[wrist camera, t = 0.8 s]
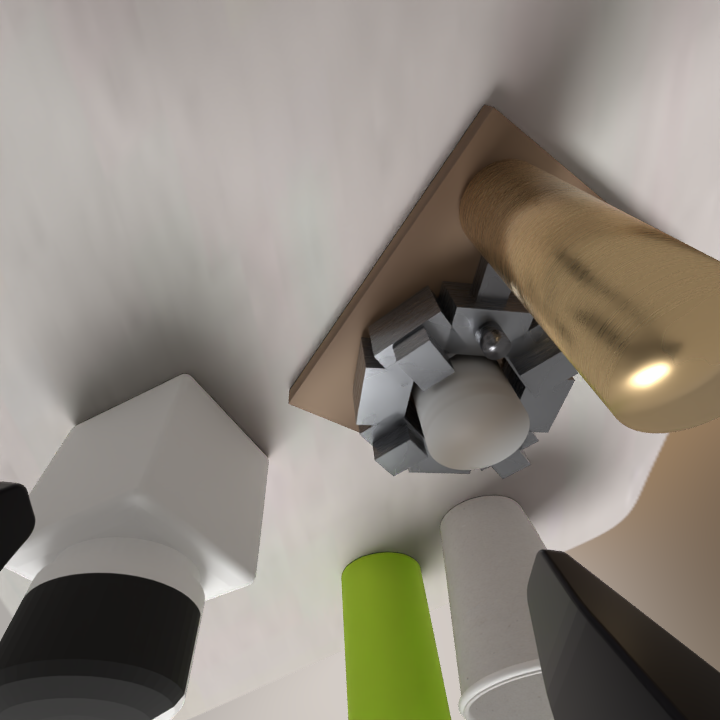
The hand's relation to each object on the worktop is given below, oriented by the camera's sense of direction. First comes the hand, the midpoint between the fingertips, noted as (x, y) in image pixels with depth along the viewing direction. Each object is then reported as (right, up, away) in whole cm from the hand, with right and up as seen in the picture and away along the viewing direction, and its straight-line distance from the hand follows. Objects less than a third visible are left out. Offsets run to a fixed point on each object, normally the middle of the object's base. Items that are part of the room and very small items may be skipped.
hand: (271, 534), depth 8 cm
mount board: (+7, +5, +13) cm, 15 cm away
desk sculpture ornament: (+6, +4, +11) cm, 14 cm away
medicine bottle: (-8, -1, +16) cm, 18 cm away
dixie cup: (+10, -8, +22) cm, 25 cm away
